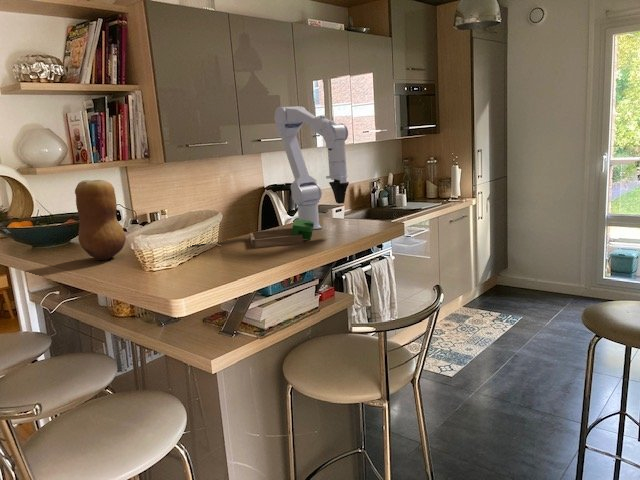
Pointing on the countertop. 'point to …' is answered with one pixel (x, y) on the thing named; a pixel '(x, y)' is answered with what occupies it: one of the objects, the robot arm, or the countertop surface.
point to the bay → (274, 238)
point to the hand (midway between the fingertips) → (340, 202)
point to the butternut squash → (98, 219)
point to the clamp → (303, 228)
